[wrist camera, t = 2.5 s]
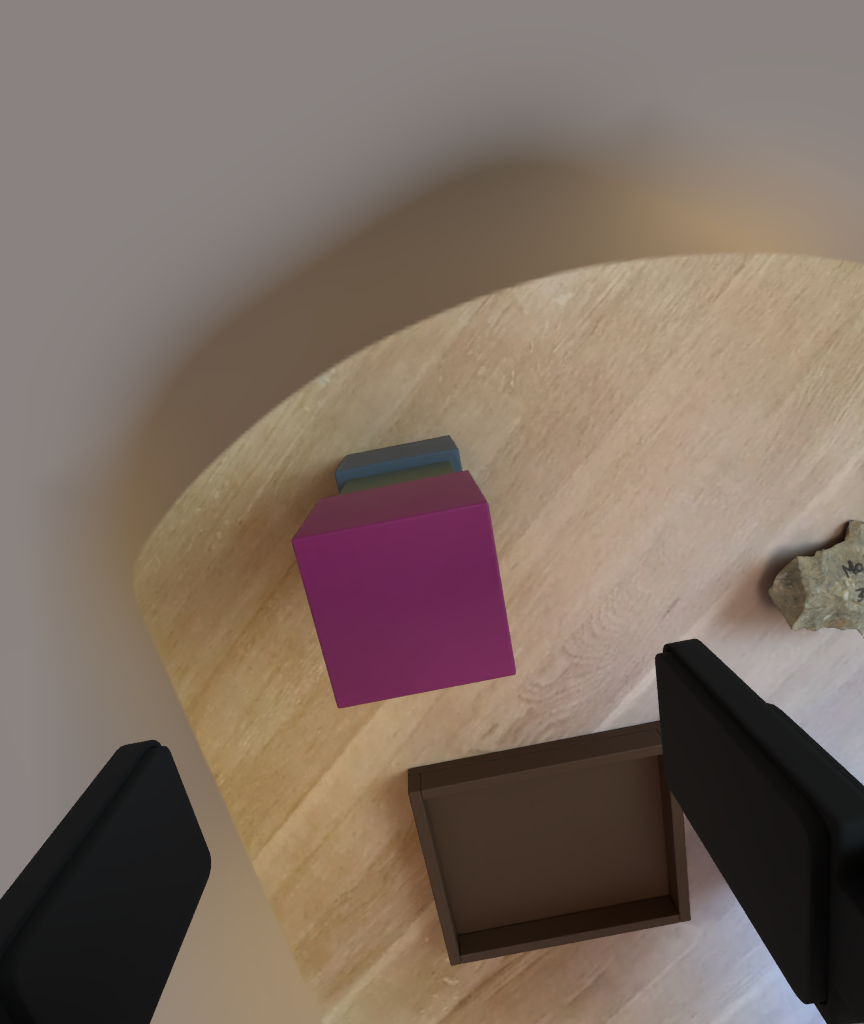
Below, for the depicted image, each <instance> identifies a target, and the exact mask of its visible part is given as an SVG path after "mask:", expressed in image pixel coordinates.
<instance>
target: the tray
mask: <svg viewBox="0 0 864 1024" xmlns="http://www.w3.org/2000/svg"><path fill="white" fill-rule="evenodd" d="M408 794H409V798H410V802H411V806H412V810H413V814H414V818H415V822H416V826H417V831H418V835H419V839H420V843H421V847H422V851H423V855H424V859H425V863H426V867H427V871H428V875H429V879H430V883H431V887H432V891H433V895H434V899H435V903H436V907H437V911H438V915H439V919H440V923H441V927H442V931H443V935H444V940H445V944H446V948H447V952H448V956H449V960H450V964H451V966H453V965H458V964H461V962H462V963H468V962H474V961H479V960H484V959H489V958H495V957H500V956H505V955H511V954H516V953H521V952H526V951H532V950H537V949H542V948H547V947H553V946H558V945H563V944H569V943H574V942H579V941H584V940H590V939H595V938H600V937H605V936H611V935H616V934H621V933H627V932H632V931H637V930H642V929H648V928H653V927H658V926H664V925H669V924H674V923H679V922H685V921H690V920H691V916H690V902H689V888H688V874H687V860H686V846H685V832H684V817H683V810H682V809H681V807H680V805H679V804H678V802H677V801H676V799H675V797H674V796H673V794H672V792H671V790H670V788H669V786H668V783H667V780H666V777H665V772H664V763H663V751H662V739H661V726H660V721H657V722H652V723H647V724H642V725H637V726H631V727H626V728H621V729H616V730H611V731H605V732H600V733H595V734H590V735H585V736H579V737H574V738H569V739H564V740H558V741H553V742H548V743H543V744H538V745H532V746H527V747H522V748H517V749H512V750H506V751H501V752H496V753H491V754H486V755H480V756H475V757H470V758H465V759H460V760H454V761H449V762H444V763H439V764H433V765H428V766H423V767H418V768H413V769H408Z"/></svg>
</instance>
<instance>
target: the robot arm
mask: <svg viewBox="0 0 864 1024" xmlns="http://www.w3.org/2000/svg"><path fill="white" fill-rule="evenodd" d="M655 666H656V678H657V690H658V702H659V714H660V726H661V739H662V751H663V763H664V772H665V777H666V780H667V783H668V786H669V788H670V790H671V792H672V794H673V796H674V797H675V799H676V801H677V802H678V804H679V805H680V807H681V809H682V810H683V812H684V814H685V815H686V817H687V818H688V820H689V822H690V823H691V825H692V827H693V828H694V830H695V831H696V833H697V835H698V836H699V838H700V840H701V841H702V843H703V845H704V846H705V848H706V849H707V851H708V853H709V854H710V856H711V858H712V859H713V861H714V862H715V864H716V866H717V867H718V869H719V871H720V872H721V874H722V876H723V877H724V879H725V880H726V882H727V884H728V885H729V887H730V889H731V890H732V892H733V893H734V895H735V897H736V898H737V900H738V902H739V903H740V905H741V907H742V908H743V910H744V911H745V913H746V915H747V916H748V918H749V920H750V921H751V923H752V924H753V926H754V928H755V929H756V931H757V933H758V934H759V936H760V938H761V939H762V941H763V942H764V944H765V946H766V947H767V949H768V951H769V952H770V954H771V955H772V957H773V959H774V960H775V962H776V964H777V965H778V967H779V968H780V970H781V972H782V973H783V975H784V977H785V978H786V980H787V982H788V983H789V985H790V986H791V988H792V990H793V991H794V993H795V994H796V996H797V997H798V998H799V999H800V1000H801V1001H802V1002H803V1003H804V1004H812V1003H814V1004H815V1006H816V1007H817V1009H818V1010H819V1012H820V1014H821V1015H822V1017H823V1018H824V1020H825V1021H826V1023H827V1024H864V786H863V785H862V784H861V783H860V782H859V781H858V780H857V779H856V778H855V777H854V776H853V775H852V774H850V773H849V772H848V771H847V770H846V769H845V768H844V767H843V766H842V765H841V764H840V763H838V762H837V761H836V760H835V759H834V758H833V757H832V756H831V755H830V754H829V753H828V752H827V751H825V750H824V749H823V748H822V747H821V746H820V745H819V744H818V743H817V742H816V741H815V740H814V739H812V738H811V737H810V736H809V735H808V734H807V733H806V732H805V731H804V730H803V729H802V728H800V727H799V726H798V725H797V724H796V723H795V722H794V721H793V720H792V719H791V718H790V717H789V716H787V715H786V714H785V713H784V712H783V711H782V710H781V709H779V708H778V707H776V706H775V705H773V704H769V703H766V702H765V701H764V700H763V699H762V698H760V697H759V696H758V695H757V694H756V693H755V692H754V691H753V690H752V689H751V688H750V687H749V686H748V685H747V684H746V683H745V682H743V681H742V680H741V679H740V678H739V677H738V676H737V675H736V674H735V673H734V672H733V671H732V670H731V669H730V668H729V667H728V666H726V665H725V664H724V663H723V662H722V661H721V660H720V659H719V658H718V657H717V656H716V655H715V654H714V653H713V652H712V651H710V650H709V649H708V648H707V647H706V646H705V645H704V644H703V643H702V642H701V641H699V640H698V639H690V640H685V641H680V642H674V643H669V644H666V645H664V648H663V653H659V654H657V655H656V657H655ZM210 870H211V856H210V852H209V850H208V847H207V844H206V842H205V839H204V837H203V834H202V832H201V829H200V827H199V824H198V821H197V819H196V816H195V814H194V811H193V808H192V806H191V803H190V801H189V798H188V796H187V793H186V791H185V788H184V785H183V783H182V780H181V778H180V775H179V773H178V770H177V767H176V765H175V762H174V760H173V757H172V755H171V752H170V750H169V749H168V748H167V747H166V746H161V744H160V743H159V742H158V741H156V740H149V741H144V742H138V743H133V744H128V745H124V746H122V747H120V748H119V749H118V750H117V751H116V752H115V753H114V755H113V756H112V757H111V759H110V760H109V761H108V762H107V764H106V765H105V766H104V768H103V769H102V770H101V771H100V773H99V774H98V775H97V777H96V778H95V779H94V780H93V782H92V783H91V784H90V785H89V787H88V788H87V789H86V791H85V792H84V793H83V794H82V796H81V797H80V798H79V800H78V801H77V802H76V803H75V805H74V806H73V807H72V808H71V810H70V811H69V812H68V814H67V815H66V816H65V818H64V819H63V820H62V821H61V822H60V824H59V825H58V826H57V828H56V829H55V830H54V831H53V833H52V834H51V835H50V837H49V838H48V839H47V840H46V842H45V843H44V844H43V846H42V847H41V848H40V849H39V851H38V852H37V853H36V855H35V856H34V857H33V858H32V860H31V861H30V862H29V863H28V865H27V866H26V867H25V869H24V870H23V871H22V873H21V874H20V875H19V876H18V878H17V879H16V880H15V882H14V883H13V884H12V885H11V886H10V888H9V889H8V890H7V892H6V893H5V894H4V895H3V897H2V898H1V899H0V1024H150V1021H151V1019H152V1017H153V1014H154V1011H155V1009H156V1007H157V1004H158V1002H159V999H160V997H161V994H162V992H163V989H164V987H165V984H166V982H167V979H168V977H169V975H170V972H171V970H172V967H173V965H174V962H175V960H176V957H177V955H178V952H179V950H180V947H181V945H182V942H183V940H184V937H185V935H186V932H187V930H188V927H189V925H190V923H191V920H192V918H193V915H194V913H195V910H196V908H197V905H198V903H199V900H200V898H201V895H202V893H203V890H204V888H205V885H206V883H207V880H208V878H209V875H210Z"/></svg>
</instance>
